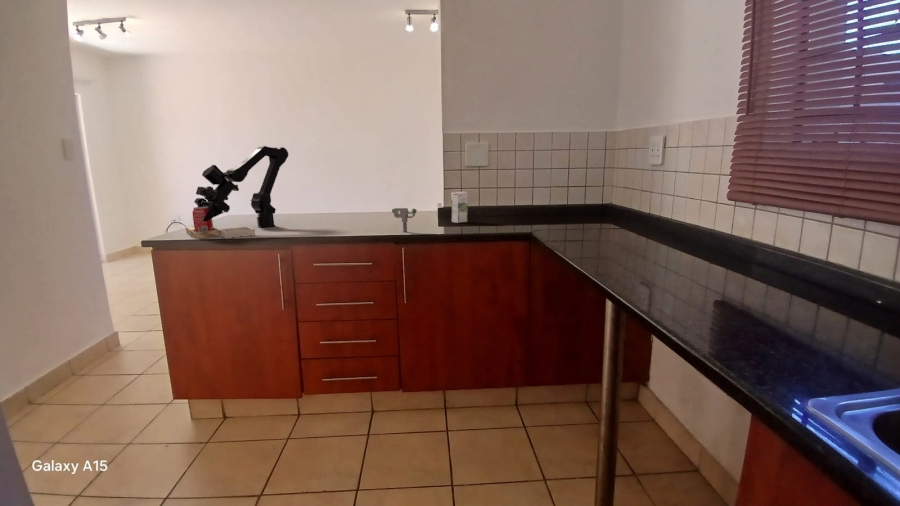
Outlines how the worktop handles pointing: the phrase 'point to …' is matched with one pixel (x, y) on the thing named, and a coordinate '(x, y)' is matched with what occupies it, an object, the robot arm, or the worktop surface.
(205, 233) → the light wood shallow tray
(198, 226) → the soda can
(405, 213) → the mechanical component
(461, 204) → the syrup box
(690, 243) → the worktop surface
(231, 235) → the frame
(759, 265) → the worktop surface
